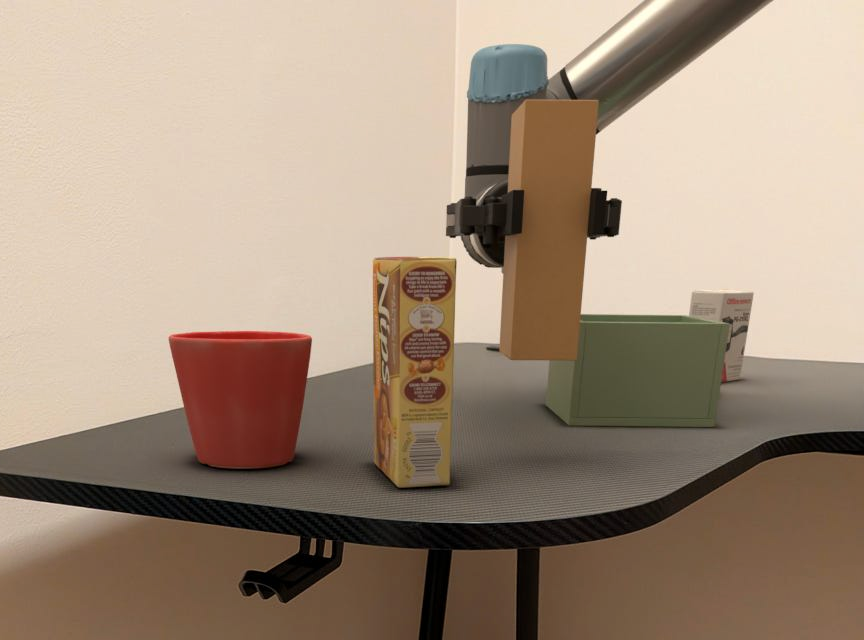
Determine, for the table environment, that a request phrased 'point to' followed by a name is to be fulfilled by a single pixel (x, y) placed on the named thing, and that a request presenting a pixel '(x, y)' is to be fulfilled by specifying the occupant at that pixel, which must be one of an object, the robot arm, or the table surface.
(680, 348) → the storage bin
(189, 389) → the flower pot
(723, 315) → the ink box
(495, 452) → the table surface
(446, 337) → the candy box
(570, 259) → the block
